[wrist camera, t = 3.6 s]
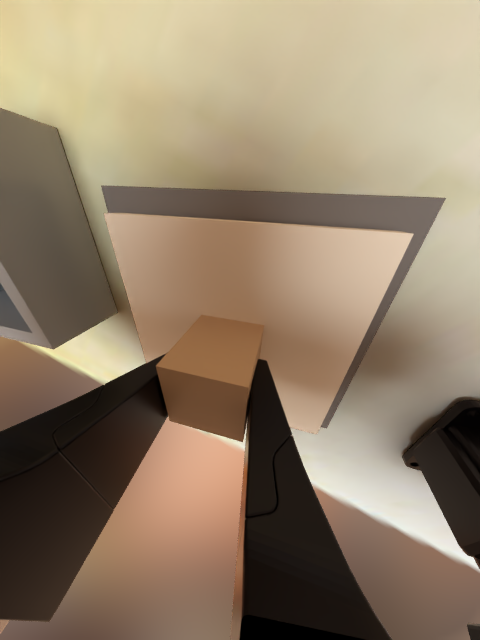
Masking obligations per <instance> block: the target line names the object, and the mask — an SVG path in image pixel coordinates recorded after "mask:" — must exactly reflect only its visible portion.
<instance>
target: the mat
mask: <svg viewBox="0 0 480 640" xmlns="http://www.w3.org/2000/svg"><path fill="white" fill-rule="evenodd" d="M101 187H102V191H103V195H104V198H105V202H106V206H107V209H108V213H132V214H147V215H162V216H177V217H193V218H208V219H223V220H238V221H253V222H268V223H284V224H299V225H314V226H329V227H344V228H359V229H375V230H390V231H400V232H406V233H412V234H414V235H413V237H412V239H411V241H410V243H409V245H408V247H407V249H406V251H405V253H404V255H403V257H402V259H401V261H400V264H399V266H398V268H397V270H396V272H395V274H394V276H393V278H392V280H391V282H390V284H389V286H388V288H387V290H386V293H385V295H384V297H383V299H382V301H381V303H380V305H379V307H378V309H377V311H376V313H375V315H374V317H373V319H372V321H371V324H370V326H369V328H368V330H367V332H366V334H365V336H364V338H363V340H362V342H361V344H360V346H359V348H358V350H357V353H356V355H355V357H354V359H353V361H352V363H351V365H350V367H349V369H348V371H347V373H346V375H345V377H344V379H343V381H342V384H341V386H340V388H339V390H338V392H337V394H336V396H335V398H334V400H333V402H332V404H331V406H330V408H329V410H328V413H327V415H326V417H325V419H324V421H323V423H322V425H321V427H323V428H327V427H328V425H329V423H330V421H331V419H332V417H333V415H334V413H335V411H336V409H337V407H338V405H339V403H340V402H341V400H342V398H343V396H344V394H345V392H346V390H347V388H348V386H349V384H350V382H351V380H352V378H353V376H354V375H355V373H356V371H357V369H358V367H359V365H360V363H361V361H362V359H363V357H364V355H365V353H366V351H367V349H368V348H369V346H370V344H371V342H372V340H373V338H374V336H375V334H376V332H377V330H378V328H379V326H380V324H381V322H382V320H383V319H384V317H385V315H386V313H387V311H388V309H389V307H390V305H391V303H392V301H393V299H394V297H395V295H396V293H397V292H398V290H399V288H400V286H401V284H402V282H403V280H404V278H405V276H406V274H407V272H408V270H409V268H410V266H411V265H412V263H413V261H414V259H415V257H416V255H417V253H418V251H419V249H420V247H421V245H422V243H423V241H424V239H425V237H426V236H427V234H428V232H429V230H430V228H431V226H432V224H433V222H434V220H435V218H436V216H437V214H438V212H439V210H440V209H441V207H442V205H443V203H444V201H445V199H446V198H429V197H401V196H374V195H346V194H319V193H291V192H263V191H236V190H208V189H181V188H153V187H126V186H101Z"/></svg>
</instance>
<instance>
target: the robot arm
mask: <svg viewBox="0 0 480 640" xmlns="http://www.w3.org/2000/svg"><path fill="white" fill-rule="evenodd" d="M167 353H168V352H167ZM167 353H165V354H164V355H162V356H160V357H158V358H156V359H154V360H152V361H150V362H148V363H146V364H144V365H142V366H140V367H138V368H136V369H134V370H132V371H130V372H128V373H126V374H124V375H122V376H120V377H118V378H116V379H114V380H112V381H110V382H108V383H106V384H105V385H102V386H100V387H98V388H96V389H94V390H92V391H90V392H88V393H86V394H84V395H82V396H80V397H78V398H76V399H74V400H71V401H69V402H67V403H65V404H62V405H60V406H58V407H56V408H54V409H51V410H49V411H47V412H44V413H42V414H40V415H37V416H35V417H33V418H31V419H28V420H26V421H24V422H21V423H19V424H17V425H15V426H12V427H10V428H8V429H5V430H3V431H0V634H1V632H2V631H3V629H4V628H5V626H6V625H7V623H8V622H9V621H10V620H18V621H43V622H49V621H50V620H51V618H52V617H53V615H54V613H55V612H56V610H57V608H58V607H59V605H60V603H61V601H62V600H63V598H64V596H65V595H66V593H67V591H68V589H69V588H70V586H71V584H72V582H73V580H74V579H75V577H76V575H77V574H78V572H79V570H80V568H81V567H82V565H83V563H84V561H85V559H86V558H87V556H88V554H89V553H90V551H91V549H92V547H93V546H94V544H95V542H96V540H97V539H98V537H99V535H100V534H101V532H102V530H103V528H104V527H105V525H106V523H107V521H108V520H109V518H110V516H111V514H112V513H113V511H114V510H113V509H114V508H115V507H116V505H117V504H118V502H119V500H120V498H121V497H122V495H123V493H124V492H125V490H126V488H127V486H128V485H129V483H130V481H131V479H132V478H133V476H134V474H135V472H136V471H137V469H138V467H139V465H140V464H141V462H142V460H143V458H144V457H145V455H146V453H147V451H148V450H149V448H150V446H151V444H152V443H153V441H154V439H155V438H156V436H157V434H158V432H159V431H160V429H161V427H162V425H163V423H164V422H165V420H166V418H167V417H168V412H167V408H166V404H165V400H164V397H163V393H162V389H161V385H160V381H159V377H158V373H157V369H156V365H157V364H158V363H159V362H160V361H161V360H162V358H163V357H164V356H165V355H166V354H167ZM402 458H403V460H404V462H405V465H406V466H407V467H410V468H413V469H417V470H420V471H422V473H423V475H424V477H425V479H426V481H427V483H428V485H429V487H430V489H431V491H432V493H433V495H434V497H435V499H436V501H437V503H438V505H439V507H440V509H441V511H442V513H443V515H444V517H445V519H446V521H447V523H448V524H449V526H450V528H451V530H452V532H453V534H454V536H455V538H456V540H457V542H458V544H459V546H460V547H461V549H462V550H463V551H464V552H465V553H466V554H467V555H468V556H471V557H474V559H475V561H476V563H477V565H478V567H479V569H480V402H479V401H474V400H465V401H461V402H459V403H457V404H456V405H455V406H454V407H453V408H451V409H450V410H449V411H448V412H447V413H446V414H445V415H444V416H443V417H442V418H441V419H440V420H439V421H438V422H437V423H436V424H435V425H434V426H433V427H432V428H431V429H430V430H429V431H428V432H427V433H426V434H425V435H423V436H422V437H421V438H420V439H419V440H418V441H417V442H416V443H415V444H414V445H413V446H412V447H411V448H410V449H409V450H408V451H407V452H406V453H405V454H404V455H403V456H402ZM242 484H243V485H242V496H241V508H240V522H239V534H238V546H237V561H236V572H235V584H234V597H233V609H232V622H231V635H230V640H392V638H391V637H390V635H389V634H388V632H387V631H386V629H385V628H384V626H383V625H382V623H381V622H380V620H379V618H378V617H377V615H376V614H375V612H374V611H373V609H372V607H371V606H370V604H369V602H368V601H367V599H366V597H365V596H364V594H363V592H362V590H361V588H360V587H359V585H358V583H357V581H356V579H355V577H354V575H353V573H352V571H351V569H350V567H349V565H348V564H347V561H346V559H345V557H344V555H343V553H342V550H341V549H340V546H339V544H338V542H337V540H336V537H335V535H334V533H333V531H332V529H331V526H330V524H329V522H328V520H327V518H326V515H325V513H324V511H323V509H322V507H321V504H320V502H319V500H318V498H317V496H316V494H315V491H314V489H313V487H312V484H311V482H310V480H309V477H308V475H307V473H306V470H305V468H304V466H303V463H302V460H301V458H300V455H299V452H298V450H297V447H296V444H295V441H294V438H293V436H292V433H291V430H290V427H289V424H288V421H287V418H286V415H285V412H284V409H283V406H282V403H281V400H280V397H279V394H278V392H277V389H276V386H275V383H274V380H273V377H272V374H271V371H270V368H269V365H268V362H267V361H266V360H263V359H258V361H257V364H256V368H255V372H254V376H253V380H252V385H251V393H250V402H249V410H248V420H247V433H246V445H245V458H244V471H243V483H242ZM467 627H468V631H469V635H470V639H471V640H480V624H475V623H468V624H467Z"/></svg>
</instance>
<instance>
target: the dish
mask: <svg viewBox="0 0 480 640" xmlns="http://www.w3.org/2000/svg"><path fill="white" fill-rule="evenodd" d="M116 313H118V312H117V309H116V306H115V303H114V300H113V297H112V294H111V291H110V288H109V285H108V282H107V279H106V276H105V273H104V270H103V267H102V264H101V261H100V258H99V255H98V252H97V249H96V246H95V243H94V240H93V237H92V234H91V231H90V228H89V225H88V222H87V219H86V216H85V213H84V210H83V207H82V204H81V200H80V197H79V194H78V191H77V188H76V185H75V182H74V179H73V176H72V173H71V170H70V167H69V164H68V161H67V158H66V155H65V152H64V149H63V146H62V143H61V140H60V137H59V134H58V131H57V128H55V127H52V126H49V125H46V124H43V123H41V122H38V121H35V120H32V119H30V118H27V117H24V116H21V115H19V114H16V113H13V112H10V111H7V110H5V109H2V108H0V336H1V337H5V338H9V339H13V340H17V341H21V342H26V343H30V344H34V345H38V346H42V347H46V348H50V349H55V348H57V347H58V346H60V345H62V344H64V343H65V342H67V341H69V340H71V339H72V338H74V337H76V336H78V335H79V334H81V333H83V332H85V331H86V330H88V329H90V328H92V327H93V326H95V325H97V324H99V323H100V322H102V321H104V320H106V319H107V318H109V317H111V316H113V315H114V314H116Z"/></svg>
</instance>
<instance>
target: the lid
mask: <svg viewBox="0 0 480 640" xmlns="http://www.w3.org/2000/svg"><path fill="white" fill-rule="evenodd" d="M103 214H104V217H105V220H106V224H107V227H108V231H109V234H110V238H111V241H112V245H113V248H114V252H115V255H116V259H117V262H118V266H119V269H120V273H121V276H122V280H123V283H124V287H125V290H126V294H127V297H128V301H129V304H130V308H131V311H132V315H133V318H134V321H135V325H136V328H137V332H138V335H139V339H140V342H141V346H142V349H143V353H144V356H145V360H146V363H148V362H150V361H152V360H154V359H156V358H158V357H160V356H162V355H164V354H165V353H167V352H168V353H167V354H166V355H165V356H164V357H163V358H162V360H161V361H160V362H159V363H158V364H157V365H156V369H157V373H158V377H159V381H160V385H161V389H162V393H163V397H164V400H165V404H166V408H167V412H168V416H169V420H170V421H172V422H176V423H179V424H182V425H186V426H189V427H193V428H196V429H200V430H203V431H206V432H210V433H213V434H217V435H220V436H224V437H227V438H231V439H234V440H238V441H241V442H243V439H244V434H245V429H246V425H247V420H248V410H249V402H250V393H251V385H252V380H253V376H254V372H255V368H256V364H257V361H258V359H263V360H266V361H267V362H268V365H269V368H270V371H271V374H272V377H273V380H274V383H275V386H276V389H277V392H278V394H279V397H280V400H281V403H282V406H283V409H284V412H285V415H286V418H287V421H288V424H289V427H290V428H294V429H298V430H302V431H305V432H309V433H313V434H317V433H318V431H319V429H320V427H321V425H322V423H323V421H324V419H325V417H326V415H327V413H328V410H329V408H330V406H331V404H332V402H333V400H334V398H335V396H336V394H337V392H338V390H339V388H340V386H341V384H342V381H343V379H344V377H345V375H346V373H347V371H348V369H349V367H350V365H351V363H352V361H353V359H354V357H355V355H356V353H357V350H358V348H359V346H360V344H361V342H362V340H363V338H364V336H365V334H366V332H367V330H368V328H369V326H370V324H371V321H372V319H373V317H374V315H375V313H376V311H377V309H378V307H379V305H380V303H381V301H382V299H383V297H384V295H385V293H386V290H387V288H388V286H389V284H390V282H391V280H392V278H393V276H394V274H395V272H396V270H397V268H398V266H399V264H400V261H401V259H402V257H403V255H404V253H405V251H406V249H407V247H408V245H409V243H410V241H411V239H412V237H413V235H414V234H412V233H406V232H400V231H390V230H375V229H359V228H344V227H329V226H314V225H299V224H284V223H268V222H253V221H238V220H223V219H208V218H193V217H177V216H162V215H147V214H132V213H103Z"/></svg>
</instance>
